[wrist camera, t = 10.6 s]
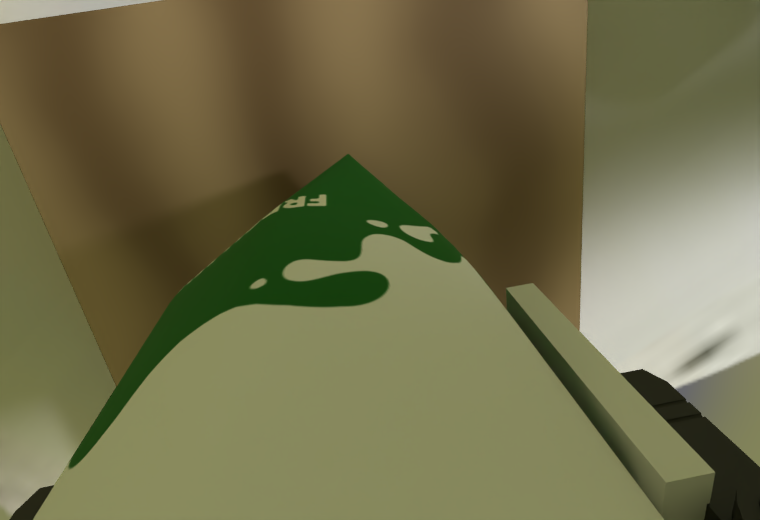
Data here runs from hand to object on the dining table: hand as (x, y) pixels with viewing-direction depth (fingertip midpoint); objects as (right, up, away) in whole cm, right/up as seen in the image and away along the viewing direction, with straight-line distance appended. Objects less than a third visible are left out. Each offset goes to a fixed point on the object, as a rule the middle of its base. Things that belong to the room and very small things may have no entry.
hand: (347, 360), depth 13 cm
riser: (-1, +4, +10) cm, 11 cm away
